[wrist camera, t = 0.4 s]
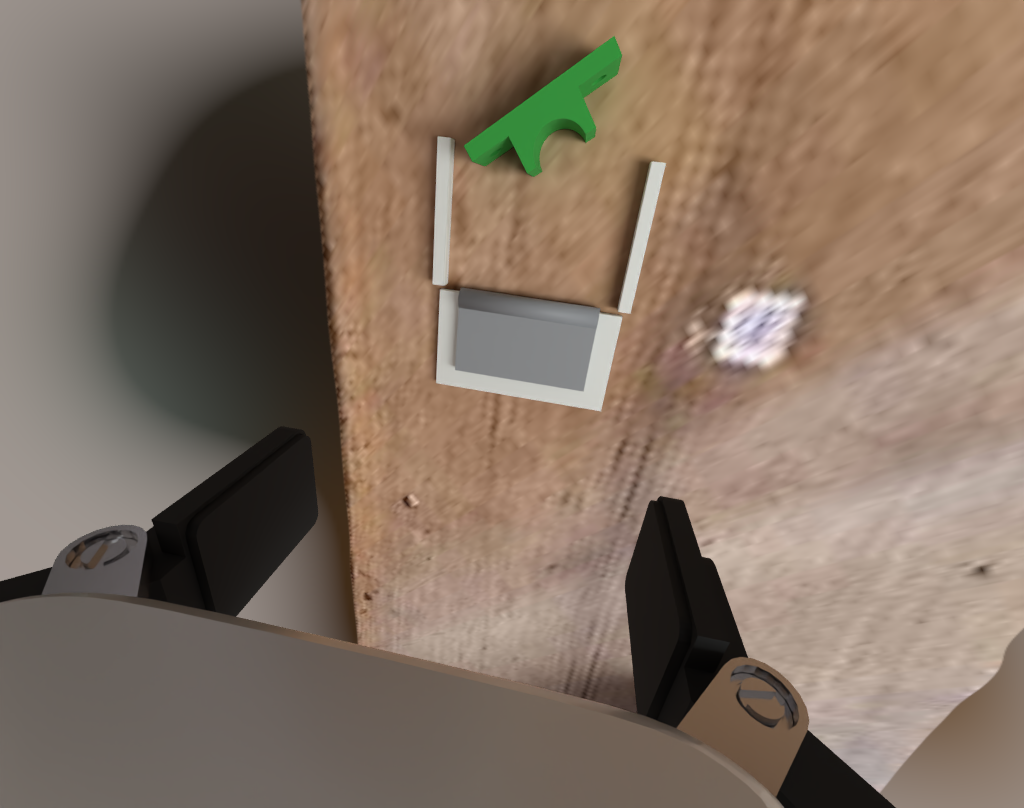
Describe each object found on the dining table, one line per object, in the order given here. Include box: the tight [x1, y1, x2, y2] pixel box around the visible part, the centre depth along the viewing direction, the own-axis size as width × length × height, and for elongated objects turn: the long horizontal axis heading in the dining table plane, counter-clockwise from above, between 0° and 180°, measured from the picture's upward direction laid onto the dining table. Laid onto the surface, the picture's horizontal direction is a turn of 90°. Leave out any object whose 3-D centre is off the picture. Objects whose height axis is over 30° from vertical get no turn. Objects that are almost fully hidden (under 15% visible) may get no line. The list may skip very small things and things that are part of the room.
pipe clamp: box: [464, 36, 622, 177], centre depth 31 cm, size 11×4×5 cm, turn 120°
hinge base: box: [433, 136, 666, 411], centre depth 37 cm, size 20×17×2 cm
